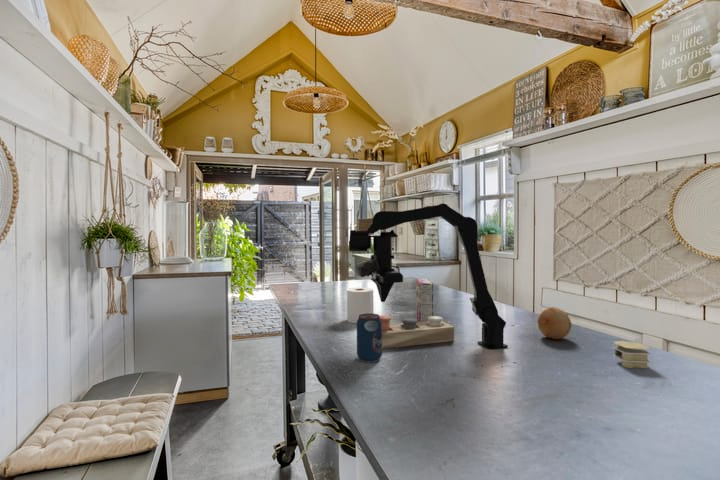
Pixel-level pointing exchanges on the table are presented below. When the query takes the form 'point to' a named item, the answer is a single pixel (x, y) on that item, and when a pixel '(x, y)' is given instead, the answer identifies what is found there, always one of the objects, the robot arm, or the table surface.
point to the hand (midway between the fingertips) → (382, 301)
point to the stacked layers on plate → (631, 354)
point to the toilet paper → (359, 303)
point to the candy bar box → (424, 299)
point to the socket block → (416, 334)
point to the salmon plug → (385, 322)
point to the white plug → (435, 320)
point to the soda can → (369, 337)
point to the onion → (554, 323)
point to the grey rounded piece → (409, 323)
